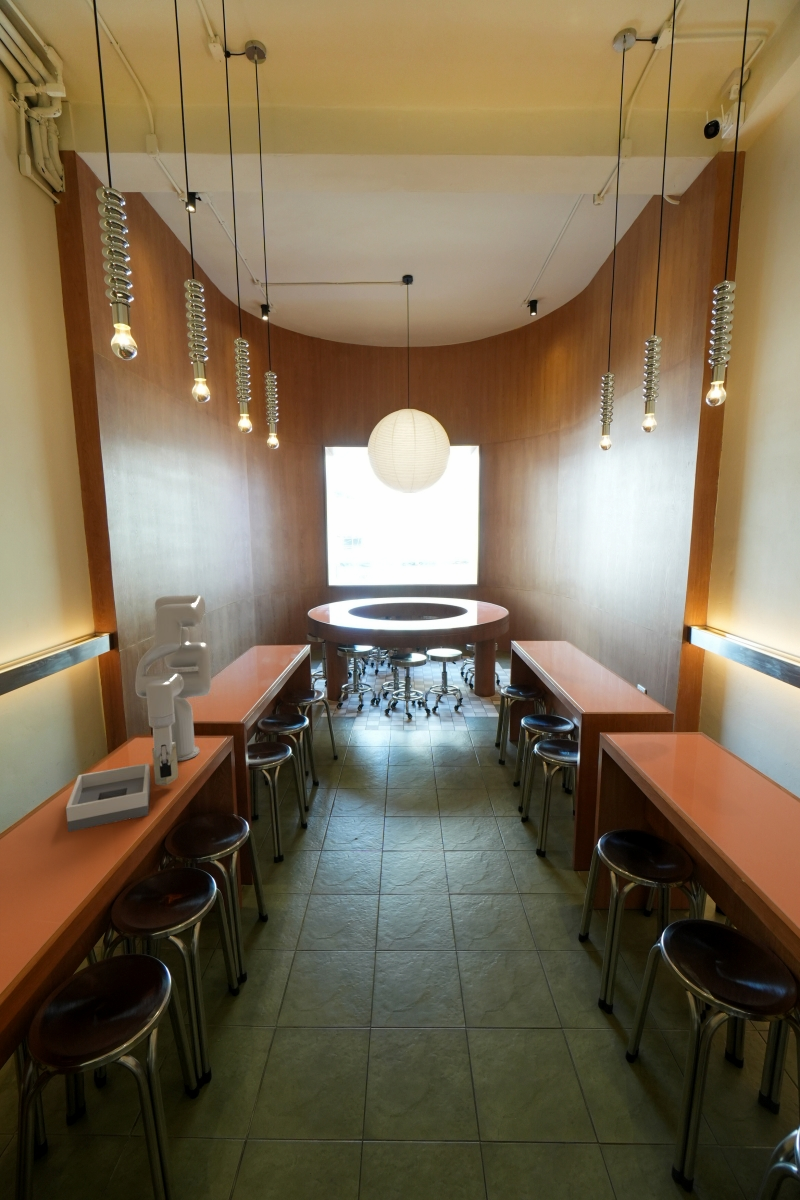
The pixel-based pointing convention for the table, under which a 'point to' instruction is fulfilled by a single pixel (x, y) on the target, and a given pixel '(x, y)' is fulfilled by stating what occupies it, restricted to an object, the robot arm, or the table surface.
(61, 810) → the table surface
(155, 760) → the skincare box
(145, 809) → the bore box
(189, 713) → the robot arm
